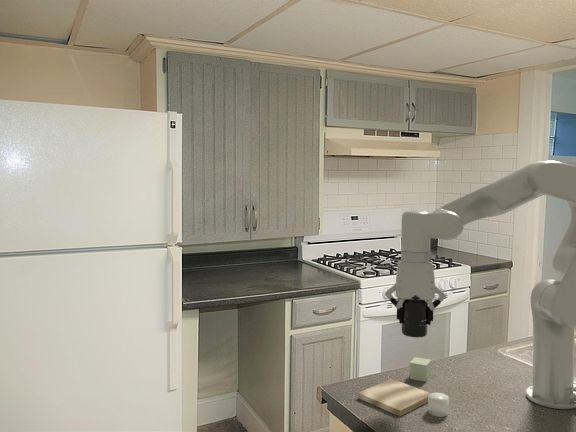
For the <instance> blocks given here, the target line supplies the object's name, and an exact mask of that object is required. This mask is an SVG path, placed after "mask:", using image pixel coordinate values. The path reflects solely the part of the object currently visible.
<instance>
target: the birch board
mask: <svg viewBox="0 0 576 432" xmlns="http://www.w3.org/2000/svg"><path fill="white" fill-rule="evenodd" d="M431 393H432V392H429V391H426V390H423V389H420V388H418V387H416V386H413V385H410V384H407V383H405V382H401V381H398V380H396V379H394V378H390V379H387V380H385V381H383V382H382V381H381V382H380V383H377V384H376V385H374V386H371V387H368V388H366V389H364V390H361V391H360V392H358V393H357V395H358V396H357V398H358V399H359V400H361V401H363V402H366V403H369V404H370V405H373V406H375V407H378V408H380V409H382V410H385V411H386V412H389V413H392V414H394V415H396V416H398V417H402V416H404V415H406V414H408V413H410V412H411V411H414V410H416V409H418V408H419V407H421V406H423V405H425V404H428V395H429V394H431Z"/></svg>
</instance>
